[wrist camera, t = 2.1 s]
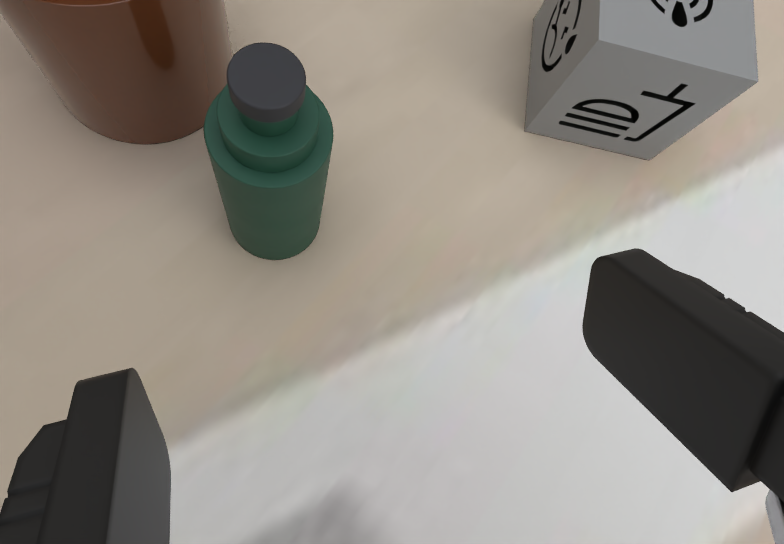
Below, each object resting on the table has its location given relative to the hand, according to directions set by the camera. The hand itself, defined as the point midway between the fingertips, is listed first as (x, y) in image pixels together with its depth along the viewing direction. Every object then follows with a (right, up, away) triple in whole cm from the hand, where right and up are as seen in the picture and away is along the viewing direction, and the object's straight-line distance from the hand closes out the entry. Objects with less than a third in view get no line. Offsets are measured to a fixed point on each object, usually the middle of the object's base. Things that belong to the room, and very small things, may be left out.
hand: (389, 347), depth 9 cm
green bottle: (-7, +5, +25) cm, 27 cm away
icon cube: (+15, +15, +33) cm, 39 cm away
